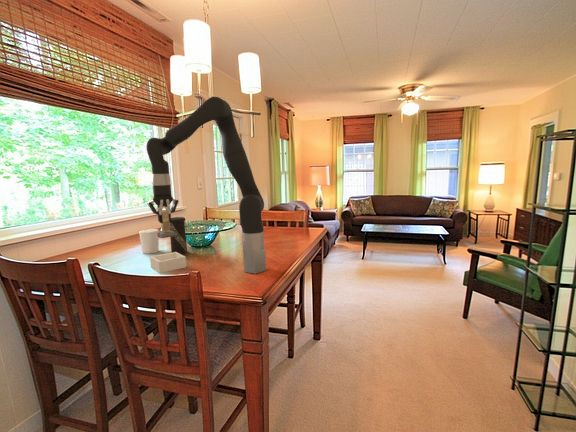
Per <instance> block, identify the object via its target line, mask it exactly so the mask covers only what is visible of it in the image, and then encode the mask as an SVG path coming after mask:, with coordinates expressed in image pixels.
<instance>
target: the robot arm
mask: <svg viewBox="0 0 576 432" xmlns="http://www.w3.org/2000/svg"><path fill="white" fill-rule="evenodd" d="M212 121H214V122H215V124H216V127H217V128H218V130H219V133H220V137H221V149H222V154H223V158H224V161H225V164H226V166H227V168H228V171H229V173H230V175H231V176H232V177H233V179H234V181H235V182H236V183H237V185H238V187H239V189H240V191H241V195H242V198H241V199H240V202H239V205H238V206H239V207H238V208H239V209H238V210H239V221H240V222H239V223H240V227H241V232H242V233H241V234H242V235H241V236H242V237H241V238H242V257H243V258H242V261H243V272H245V273H248V274H253V275H254V274H255V275H256V274H259V273H262V272H266V271H267V255H266V249H265V236H264V233H265V231H264V224H263V223H262V212H263V211H264V208H265V201H264V199H263V197H262V194H261V192H260V191H259V188H258V186H257V184H256V181H255V178H254V175H253V172H252V168H251V165H250V163H249V162H250V161H249V158H248V156H247V153H246V150H245V148H244V146H243V143H242V140H241V138H240V135H239V133H238V129H237V127H236V123H235V119H234V115H233V111H232V107H231V105H230V104H229V102H227V101H226V100H224V99H222V98H221V97H219V96H211V97H209V98H207V99H206V100H205V101H203V102H202V103H201V105H200V106H199V107H198V108H197V109H195V110H194V111H193V112H192V113H191V114H189V115H188V116H187V117H186V118H184V119H183V120H182V121H180V122H179V123H177V124H175V125H174V126H172V127H170V128H169V129H168V130H167V131H166V132H165V134H164V137H162V138H159V137H150V138H148V140H147V142H146V152H147V156H148V159H149V161H150V165H151V174H152V175H151V180H152V182H151V184H152V193H153V198H152V200H150V201H147V202H146V203H147V205H148V207H149V209H150V210H151V212H152V213H153V214H155V215H157V220H158V222H159V224H161V223H163V219H162V210H163V208H164V210H168V216H169V222H170V221H171V218H172V214H173V213H175V212H176V209H177V206H178V205H179V204H178V203H179V202H180V201H179V200H178V199H175V198H174V197H173V195H172V183H171V176H170V167H169V162H168V161H167V160H165V157H164V156H165V155H168V154H169V153H171V152H172V151H173V150H174V149H175V148H176V147H177V146H178V145H180V144H181V143H183V142H185V141H186V140H188V139H189V138H190V137H192V135H194V134H195V133H196V132H197V131H198V129H199V128H200V127H202V126H204V125H205V124H206V123H207V124H208V123H209V122H212ZM171 203H172V204H171ZM155 205H156V208H155Z"/></svg>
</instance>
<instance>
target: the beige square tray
mask: <svg viewBox="0 0 576 432" xmlns="http://www.w3.org/2000/svg"><path fill="white" fill-rule="evenodd" d="M149 260H150V261H149V262H150V268H151V269H153V270H155V271H156V272H158V273H159V274H162V273H165V272H166V273H167V272H171V271H175V270H179V269H184V268H187V256H185V255H181V254H179V253H177V252H172V253H171V252H169V253H168V252H167V253H163V254H157V255H151V256H149Z"/></svg>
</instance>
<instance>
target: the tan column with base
mask: <svg viewBox="0 0 576 432" xmlns="http://www.w3.org/2000/svg"><path fill="white" fill-rule="evenodd" d="M162 219H163V223H160V224H161V231H160V232H159V231H158V233H157V236H158V238H160V239H166V238H170V237H173V236H176V235H175V232H174V231H170V226H169V216H168V210H166V209H164V210H163V209H162Z"/></svg>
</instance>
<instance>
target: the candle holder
mask: <svg viewBox="0 0 576 432" xmlns="http://www.w3.org/2000/svg"><path fill="white" fill-rule="evenodd" d="M158 232H159V229H157V228H149V229H143V230H140V231H138V233H139V240H140V246H141V252H142V254H155V253H158V252H159V251H160V250H159V249H160V248H159V247H160V246H159V244H160V243H159V240H160V239H159V237H158V236H157V233H158Z"/></svg>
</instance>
